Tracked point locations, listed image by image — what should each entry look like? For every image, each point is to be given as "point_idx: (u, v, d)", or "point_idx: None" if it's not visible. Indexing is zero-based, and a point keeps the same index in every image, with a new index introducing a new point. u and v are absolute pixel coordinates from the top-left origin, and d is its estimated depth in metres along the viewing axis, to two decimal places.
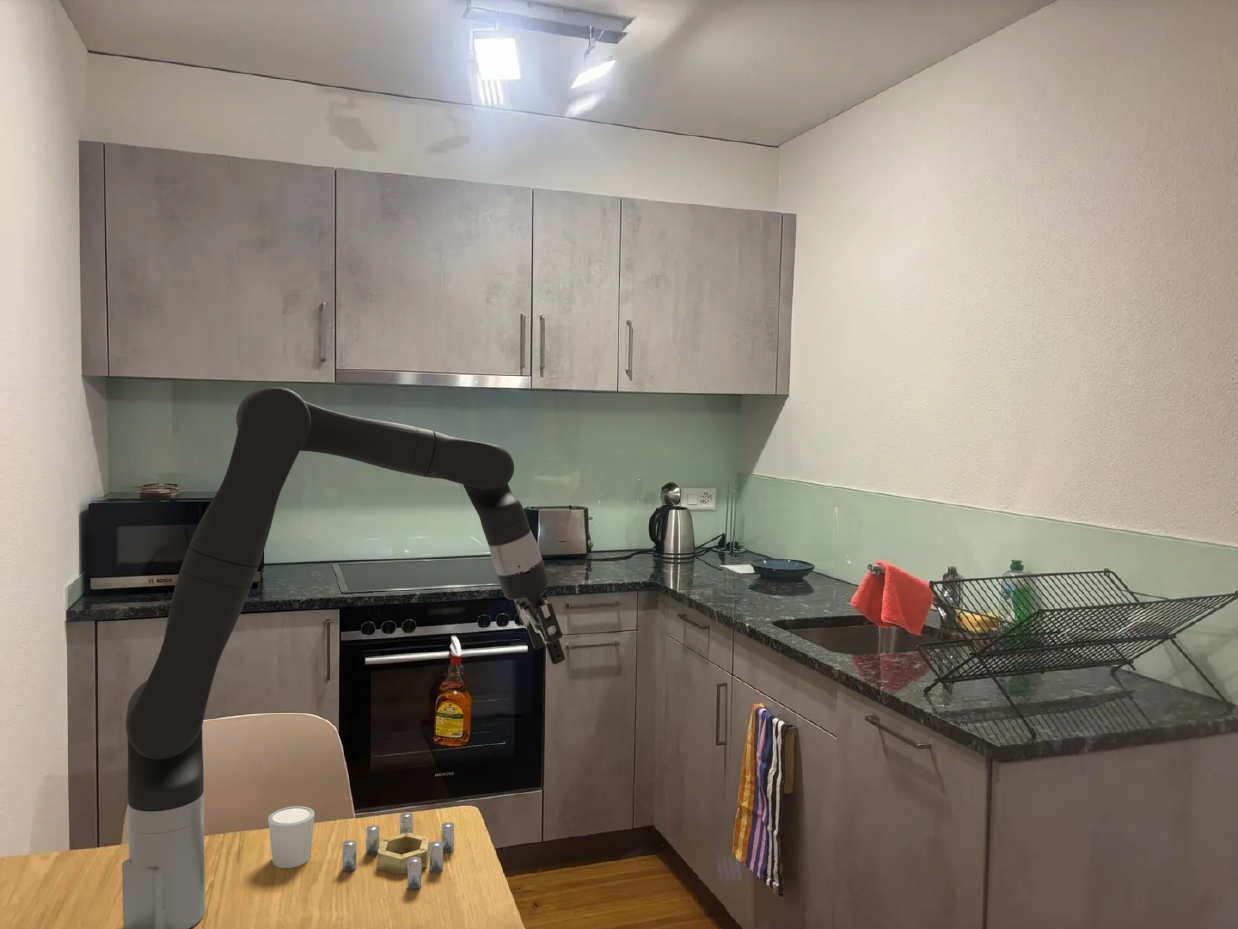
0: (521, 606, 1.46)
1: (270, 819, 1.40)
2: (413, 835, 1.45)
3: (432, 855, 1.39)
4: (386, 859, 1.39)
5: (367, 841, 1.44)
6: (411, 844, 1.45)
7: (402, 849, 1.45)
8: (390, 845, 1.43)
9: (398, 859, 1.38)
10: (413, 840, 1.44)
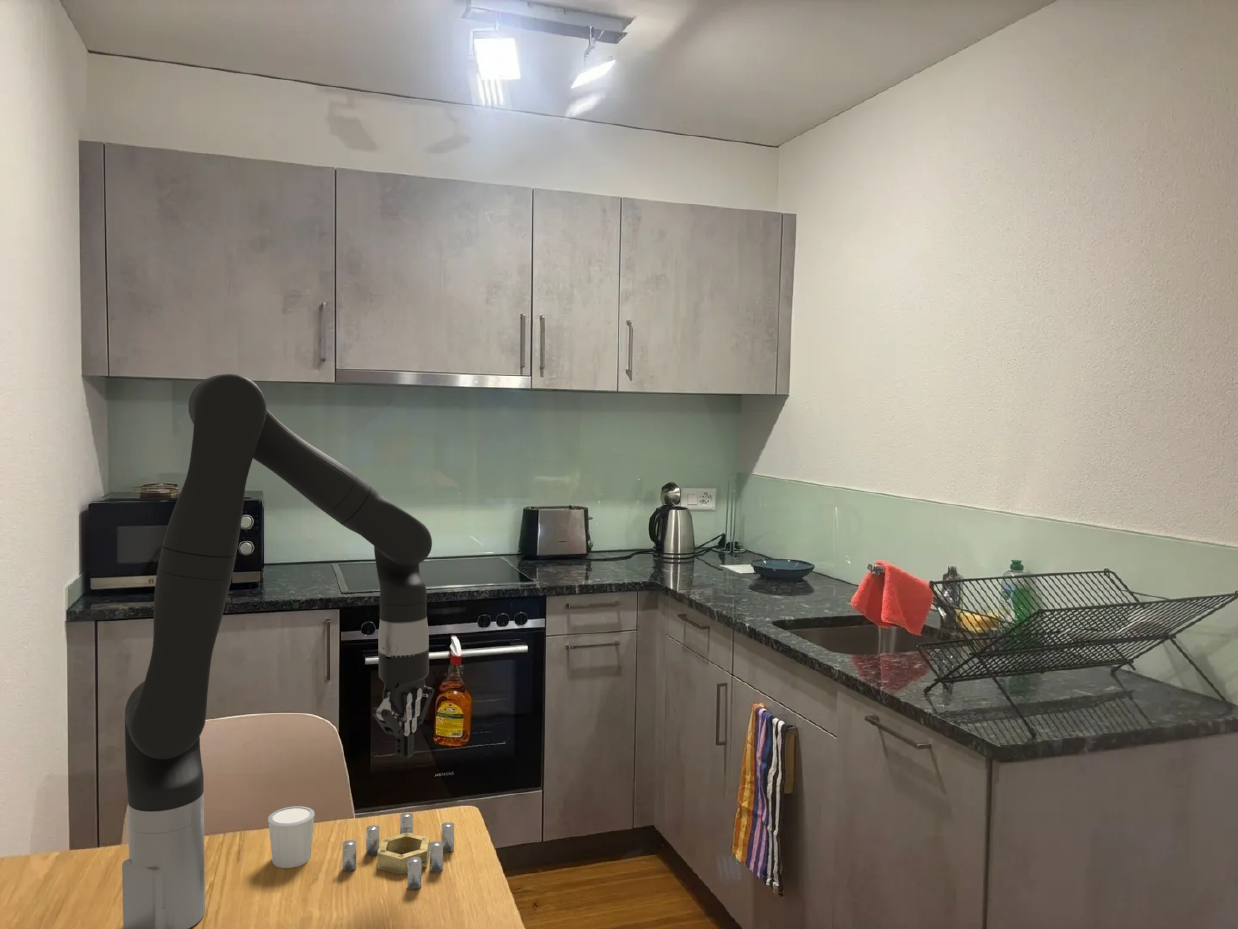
0: None
1: (270, 819, 1.40)
2: (413, 835, 1.45)
3: (432, 855, 1.39)
4: (386, 859, 1.39)
5: (367, 841, 1.44)
6: (411, 844, 1.45)
7: (402, 849, 1.45)
8: (390, 845, 1.43)
9: (398, 859, 1.38)
10: (413, 840, 1.44)
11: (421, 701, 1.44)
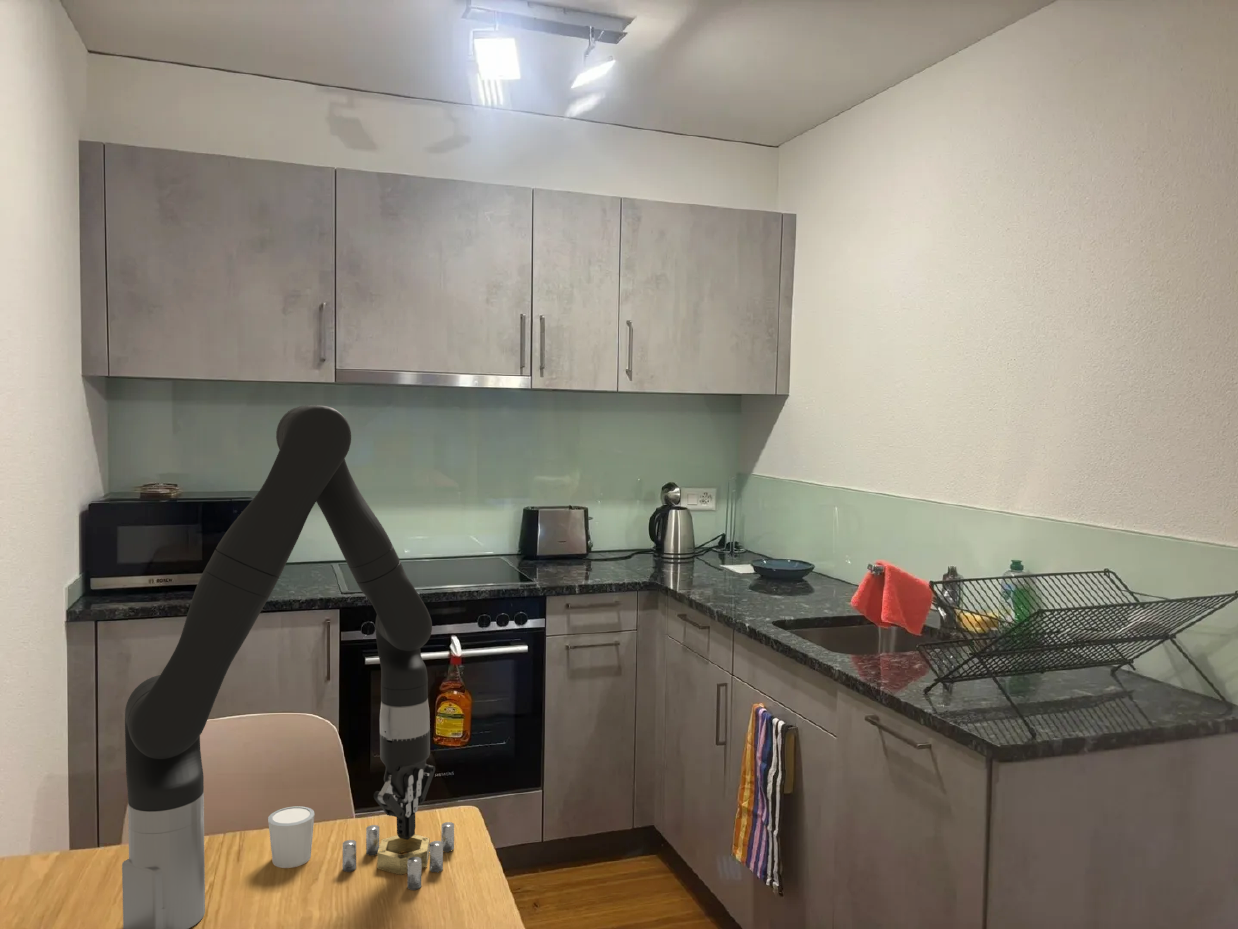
0: None
1: (270, 819, 1.40)
2: None
3: (432, 855, 1.39)
4: (386, 859, 1.39)
5: (367, 841, 1.44)
6: (411, 844, 1.45)
7: (402, 849, 1.45)
8: (390, 845, 1.43)
9: (398, 859, 1.38)
10: (413, 840, 1.44)
11: (422, 780, 1.45)
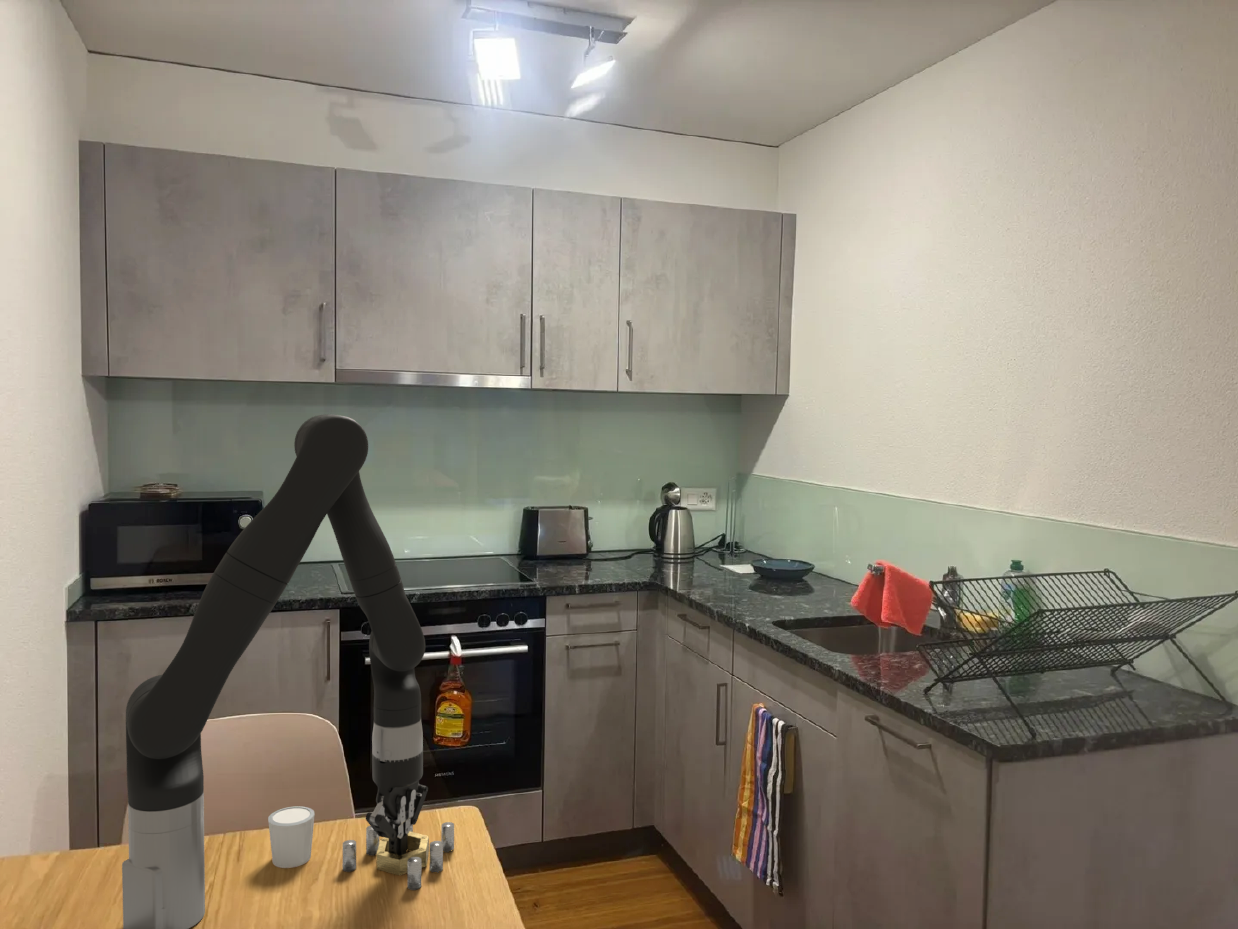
0: None
1: (270, 819, 1.40)
2: (412, 833, 1.45)
3: (432, 855, 1.39)
4: (385, 860, 1.39)
5: (367, 841, 1.44)
6: (410, 842, 1.44)
7: None
8: None
9: (397, 860, 1.38)
10: (412, 838, 1.44)
11: (415, 800, 1.44)
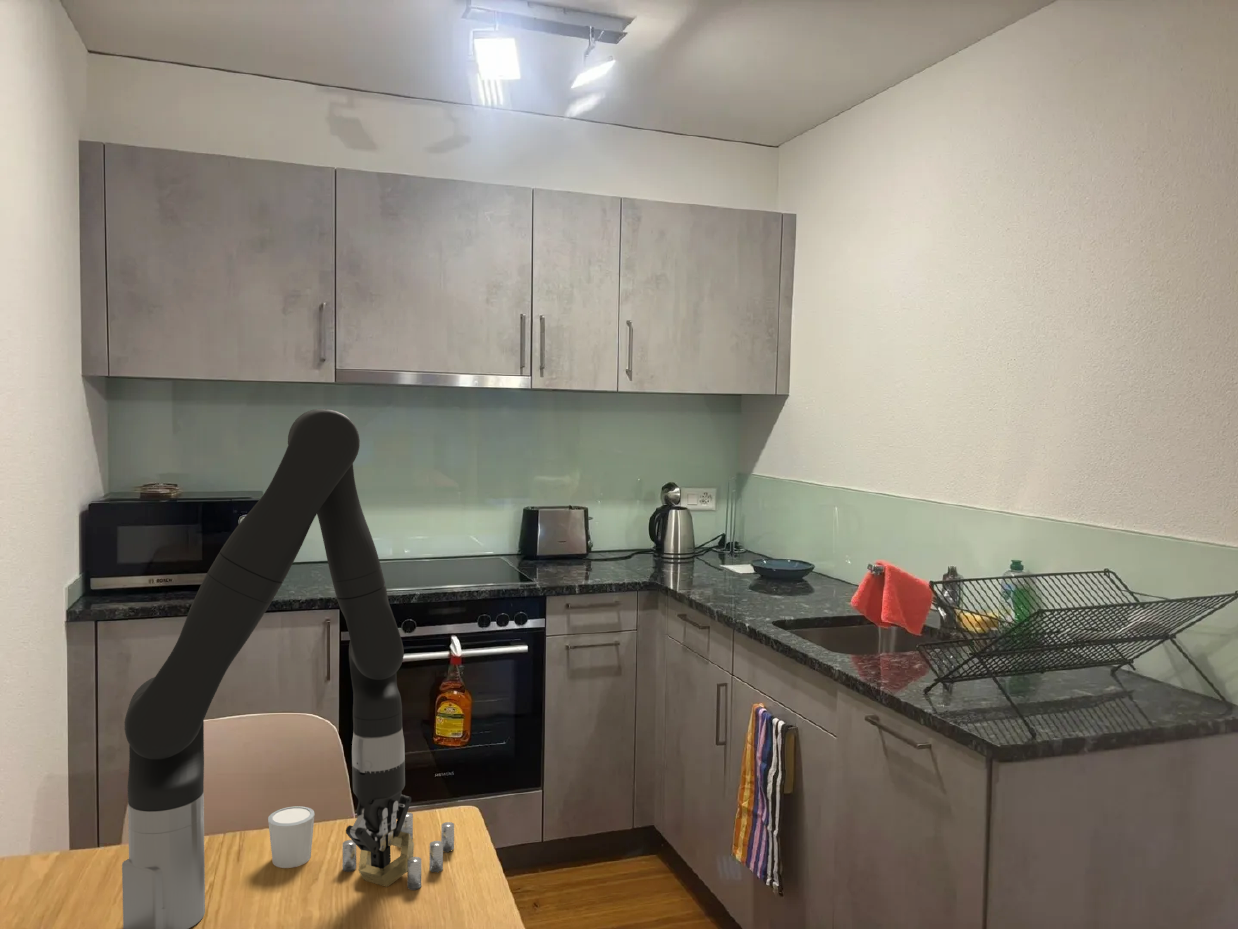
0: None
1: (270, 819, 1.40)
2: None
3: (432, 855, 1.39)
4: (368, 875, 1.35)
5: None
6: (393, 840, 1.40)
7: None
8: None
9: (379, 876, 1.33)
10: (393, 838, 1.39)
11: (398, 811, 1.39)
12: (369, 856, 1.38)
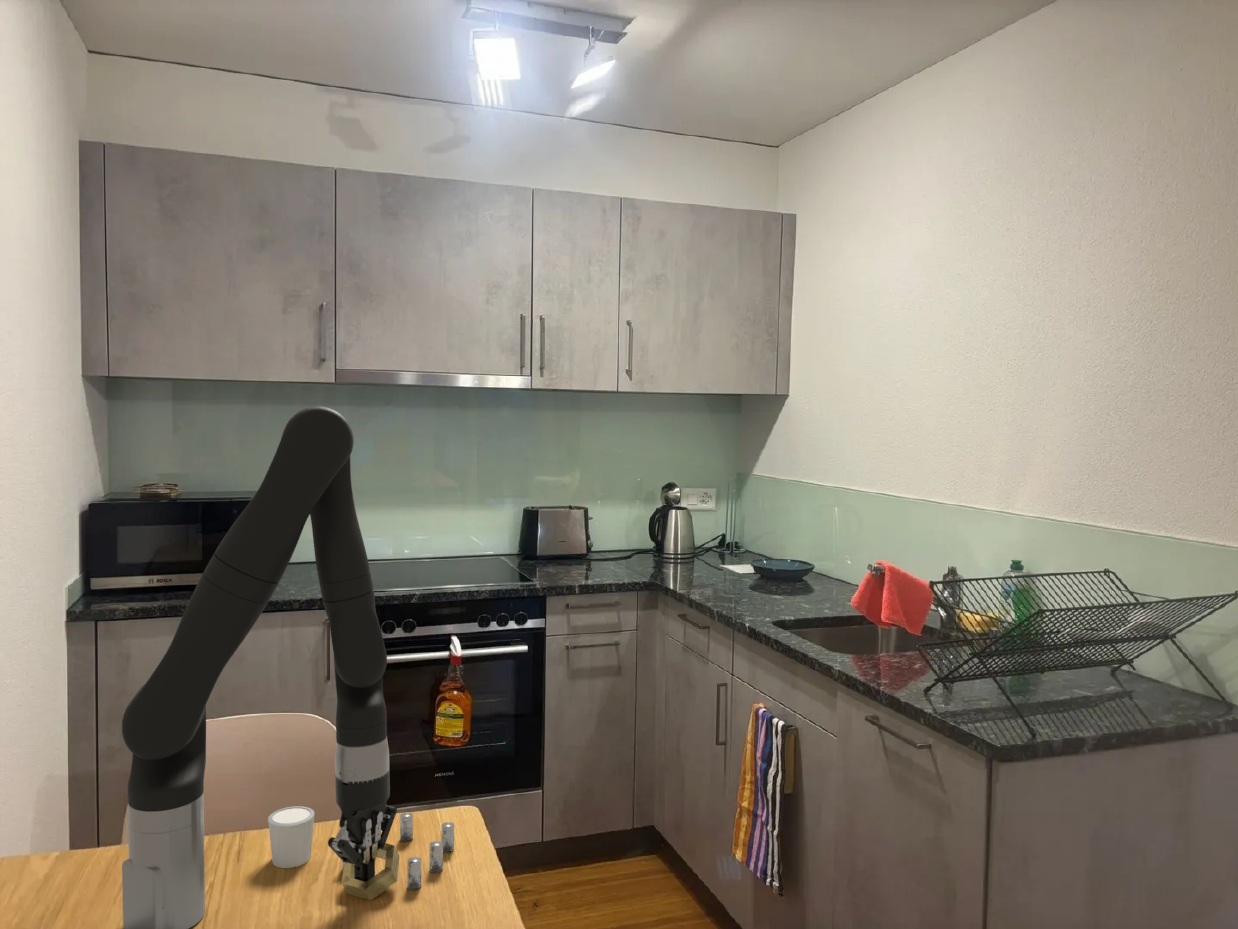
0: None
1: (270, 819, 1.40)
2: None
3: (432, 855, 1.39)
4: (352, 888, 1.31)
5: None
6: (378, 852, 1.36)
7: None
8: None
9: (363, 890, 1.30)
10: (378, 850, 1.35)
11: (383, 823, 1.36)
12: (353, 868, 1.34)
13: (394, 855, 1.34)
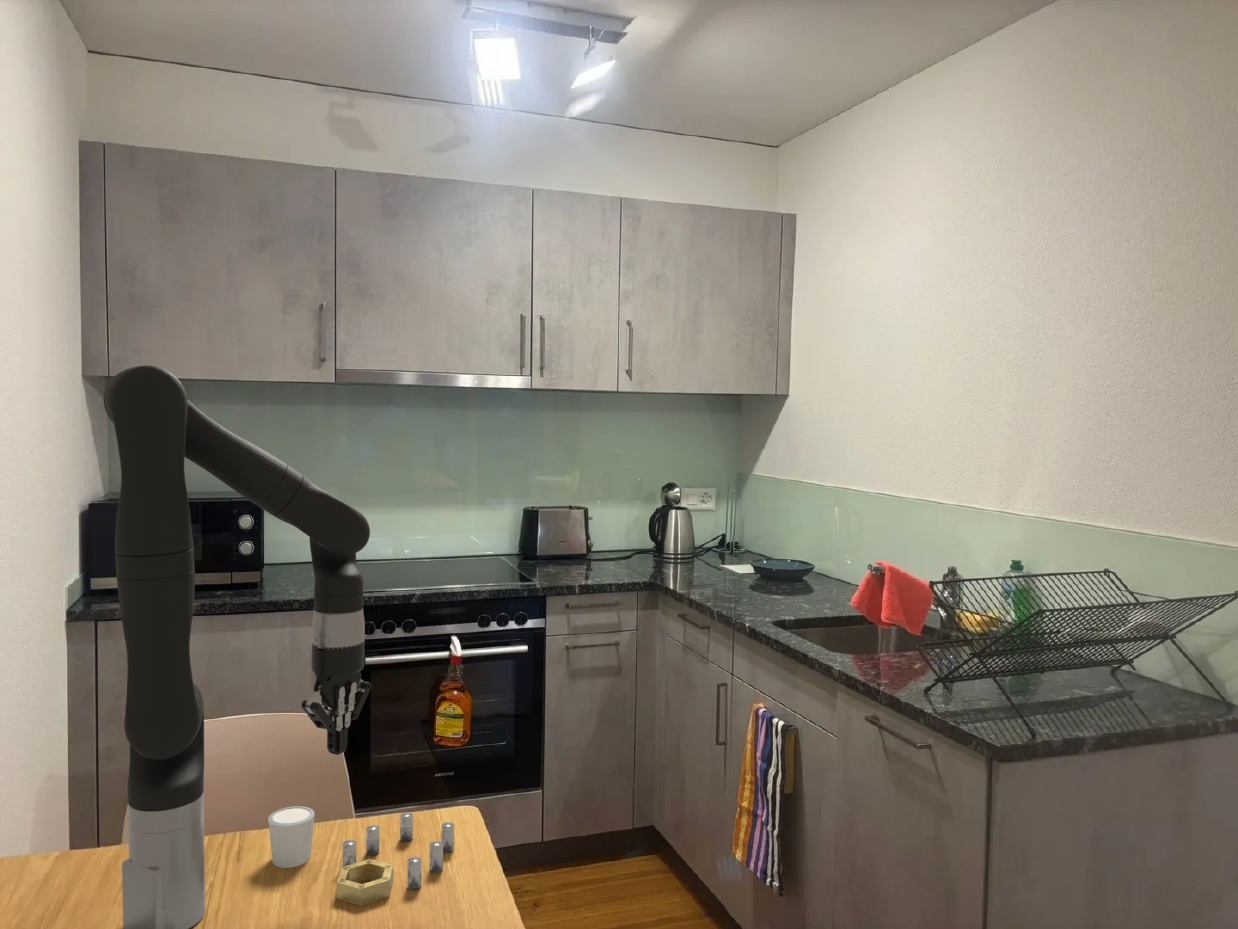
0: None
1: (270, 819, 1.40)
2: (376, 862, 1.37)
3: (432, 855, 1.39)
4: (346, 889, 1.30)
5: (367, 841, 1.44)
6: (374, 872, 1.36)
7: (364, 877, 1.36)
8: (351, 873, 1.35)
9: (358, 889, 1.29)
10: (376, 867, 1.36)
11: (357, 696, 1.40)
12: (347, 878, 1.34)
13: (392, 873, 1.35)
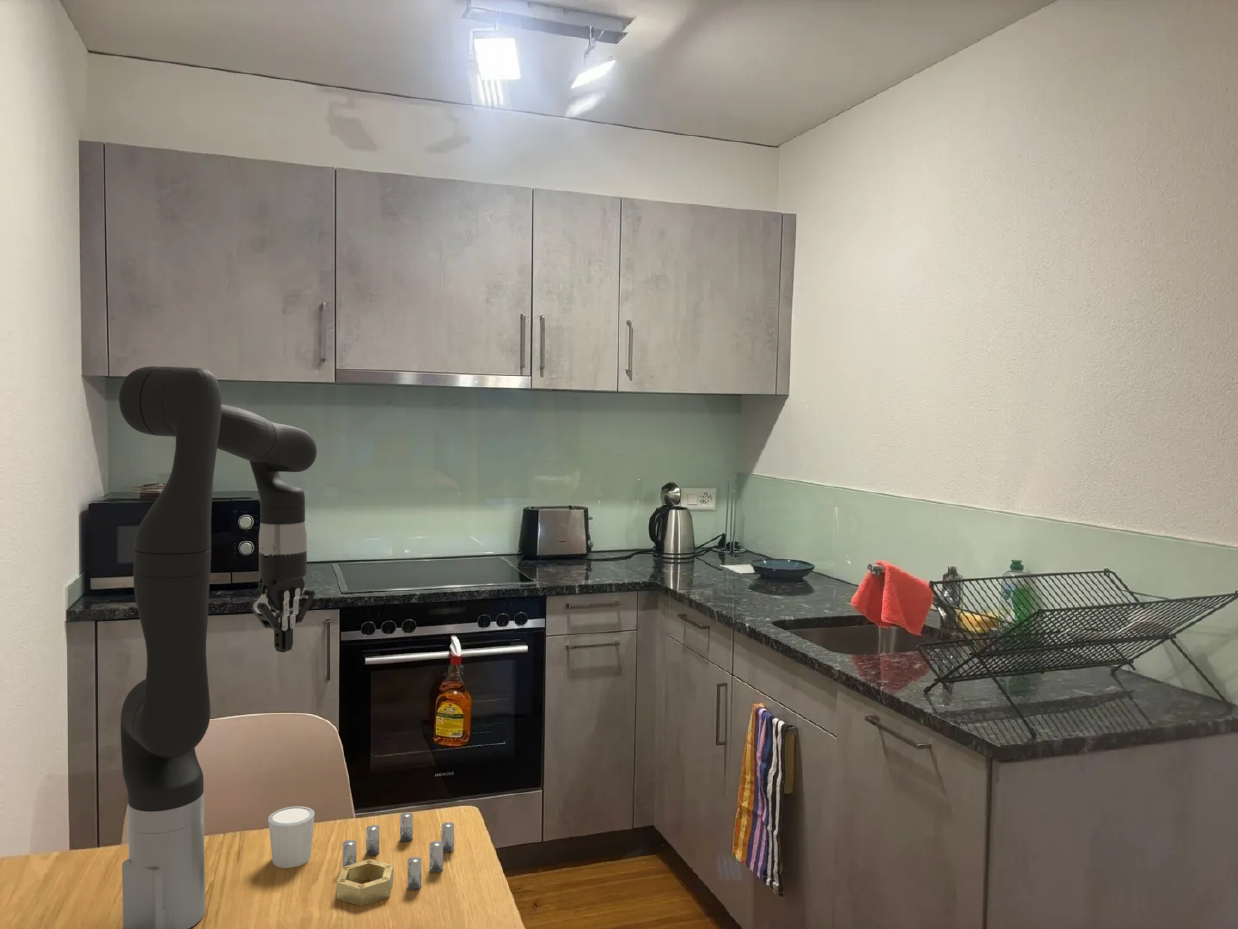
0: None
1: (270, 819, 1.40)
2: (376, 862, 1.37)
3: (432, 855, 1.39)
4: (346, 889, 1.30)
5: (367, 841, 1.44)
6: (374, 872, 1.36)
7: (364, 877, 1.36)
8: (351, 873, 1.35)
9: (358, 889, 1.29)
10: (376, 867, 1.36)
11: (302, 602, 1.57)
12: (347, 878, 1.34)
13: (392, 873, 1.35)
